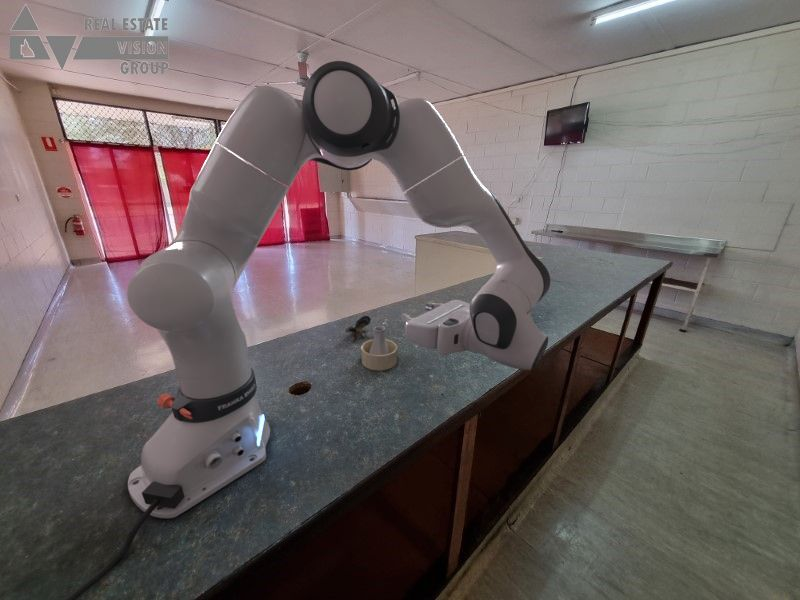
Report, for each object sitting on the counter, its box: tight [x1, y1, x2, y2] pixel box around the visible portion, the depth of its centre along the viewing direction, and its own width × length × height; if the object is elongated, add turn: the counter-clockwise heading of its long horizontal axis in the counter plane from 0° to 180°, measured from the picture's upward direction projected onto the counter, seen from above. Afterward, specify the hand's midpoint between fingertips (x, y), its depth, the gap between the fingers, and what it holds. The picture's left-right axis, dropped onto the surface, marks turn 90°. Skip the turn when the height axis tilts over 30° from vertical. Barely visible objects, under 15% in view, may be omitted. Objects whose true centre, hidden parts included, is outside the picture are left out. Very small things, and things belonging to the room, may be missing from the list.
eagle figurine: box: [345, 315, 372, 343], centre depth 103 cm, size 8×7×9 cm
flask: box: [369, 325, 390, 355], centre depth 88 cm, size 7×7×10 cm
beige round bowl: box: [360, 338, 398, 372], centre depth 89 cm, size 10×10×4 cm
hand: (415, 310), depth 76 cm, fingers open, 8 cm apart
